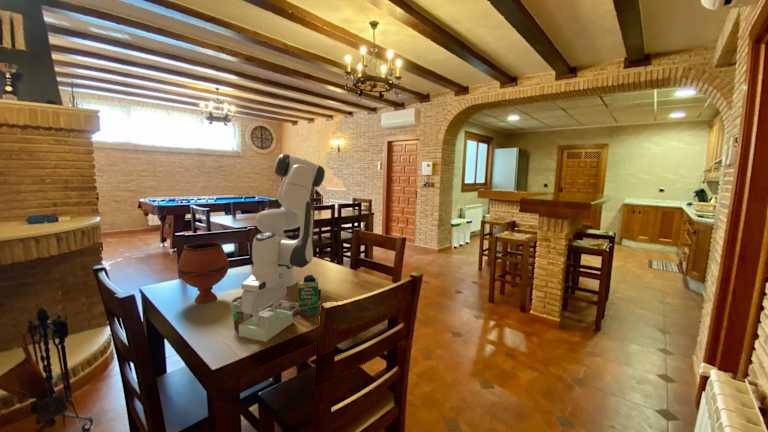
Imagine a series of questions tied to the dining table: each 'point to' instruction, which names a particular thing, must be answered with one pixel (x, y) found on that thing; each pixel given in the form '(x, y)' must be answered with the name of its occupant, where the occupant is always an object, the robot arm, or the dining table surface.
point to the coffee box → (308, 298)
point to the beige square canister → (313, 279)
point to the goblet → (203, 268)
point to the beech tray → (281, 304)
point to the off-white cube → (266, 319)
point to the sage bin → (254, 332)
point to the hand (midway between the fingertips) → (266, 315)
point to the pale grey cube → (286, 307)
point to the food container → (238, 312)
